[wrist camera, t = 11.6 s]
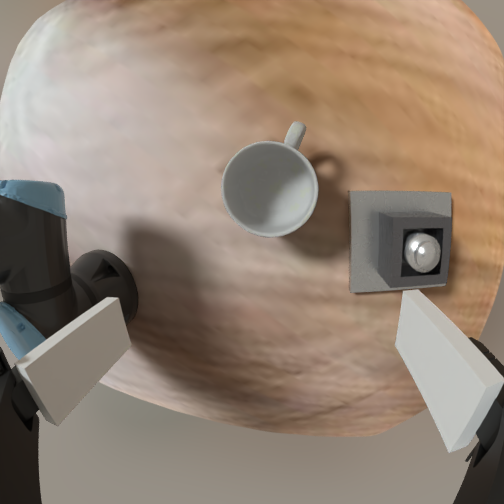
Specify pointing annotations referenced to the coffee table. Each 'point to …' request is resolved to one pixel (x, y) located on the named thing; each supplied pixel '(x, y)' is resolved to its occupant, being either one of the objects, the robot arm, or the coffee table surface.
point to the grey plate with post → (367, 234)
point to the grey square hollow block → (393, 244)
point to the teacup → (271, 186)
